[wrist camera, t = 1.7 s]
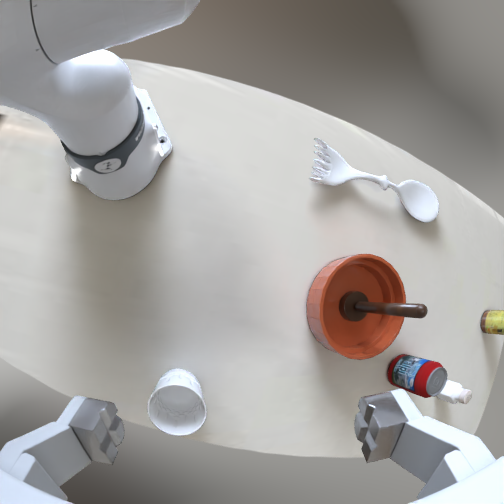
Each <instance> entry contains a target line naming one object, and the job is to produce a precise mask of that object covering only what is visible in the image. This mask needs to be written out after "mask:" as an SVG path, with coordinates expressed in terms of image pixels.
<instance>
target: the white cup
mask: <svg viewBox="0 0 504 504" xmlns="http://www.w3.org/2000/svg"><path fill="white" fill-rule="evenodd" d="M147 411H148V415H149V418H150V420H151V421H152V423H153V424H154V425H155V426H156V427H157V428H158V429H159V430H161V431H162V432H164V433H167V434H170V435H174V436H186V435H190V434H192V433H194V432H196V431H198V430H199V429H200V428H201V427H202V426H203V424H204V423H205V420H206V417H207V408H206V404H205V400H204V396H203V393H202V390H201V387H200V384H199V382H198V380H197V379H196V377H195V376H194V375H193V374H192V373H190V372H188V371H187V370H182V369H174V370H170V371H167V372H166V373H165V374H164V375H163V376H162V377H161V379H160V380H159V382H158V383H157V385H156V386H155V388H154V390H153V392H152V394H151V396H150V398H149V400H148V404H147Z"/></svg>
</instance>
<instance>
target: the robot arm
mask: <svg viewBox="0 0 504 504" xmlns="http://www.w3.org/2000/svg"><path fill="white" fill-rule="evenodd" d="M199 1H200V0H0V105H3V106H7V107H11V108H14V109H17V110H20V111H23V112H26V113H28V114H31V115H33V116H35V117H37V118H39V119H41V120H42V121H44V122H45V123H46V124H47V125H48V126H49V127H50V128H51V129H52V130H53V131H54V132H55V133H56V134H57V136H58V137H59V138H60V139H61V143H62V145H63V147H64V150H65V151H66V153H67V154H66V156H65V159H66V161H67V163H68V164H69V166H70V167H71V168H70V177H71V178H72V180H73V181H75V182H77V183H80V184H83V185H85V186H86V187H87V188H88V189H89V190H90V191H91V192H92V193H93V194H95V195H96V196H98V197H100V198H103V199H107V200H121V199H125V198H128V197H131V196H133V195H135V194H137V193H138V192H140V191H141V190H143V189H144V188H145V187H146V186H147V185H148V184H149V183H150V182H151V180H152V179H153V177H154V176H155V174H156V172H157V170H158V167H159V165H160V163H161V162H162V161H163V160H164V159H165V158H166V157H167V156H168V155H169V154H170V152H171V151H172V145H171V142H170V140H169V138H168V136H167V134H166V132H165V130H164V127H163V125H162V123H161V121H160V119H159V117H158V115H157V112H156V110H155V108H154V106H153V104H152V102H151V100H150V97H149V95H148V93H147V91H145V90H142V89H136V87H135V86H133V82H132V78H131V73H130V70H129V68H128V67H127V65H126V64H125V63H124V62H123V61H122V60H121V59H120V58H119V57H118V56H116V55H115V54H113V53H112V52H109V51H106V50H103V49H105V48H109V47H112V46H116V45H120V44H124V43H128V42H132V41H134V40H137V39H140V38H142V37H145V36H148V35H151V34H154V33H156V32H159V31H162V30H164V29H167V28H170V27H173V26H176V25H179V24H181V23H183V21H185V20H186V19H187V18H188V17H189V16H190V14H191V13H192V12H193V10H194V9H195V7H196V6H197V5H198V3H199ZM162 141H165V142H164V143H161V142H162ZM358 407H359V409H360V411H359V412H358V413H357V414H356V417H355V422H354V424H355V433H356V436H357V439H358V440H359V441H361V442H362V443H363V446H362V452H363V454H364V457H365V459H366V462H367V463H369V462H373V461H378V460H382V459H386V458H390V457H391V458H390V459H392V460H393V461H394V462H396V463H397V464H399V465H400V466H401V467H403V468H404V469H406V470H407V471H409V472H410V473H412V474H413V475H414V476H416V477H418V478H419V479H420V480H422V481H423V482H425V483H426V485H425V486H424V487H423V489H422V490H421V492H420V493H419V494H418V496H417V498H418V500H417V501H414V502H411V503H409V504H504V456H502V457H501V458H499V459H498V460H496V459H495V458H494V457H493V455H492V454H491V453H490V451H489V450H488V449H487V447H486V446H485V444H484V443H483V442H482V441H481V439H480V438H479V437H476V436H474V435H471V434H469V433H466V432H464V431H461V430H459V429H456V428H454V427H451V426H449V425H447V424H444V423H442V422H440V421H437V420H435V419H433V418H430V417H428V416H425V417H423V416H422V414H421V413H420V412H419V410H418V409H417V407H416V406H415V404H414V403H413V401H412V400H411V399H410V397H409V396H408V394H407V393H406V391H405V390H404V389H402V388H401V389H397V390H393V391H389V392H384V393H380V394H375V395H370V396H365V397H361V399H360V400H359V404H358ZM117 411H118V410H117V408H116V405H115V403H112V402H109V401H103V400H98V399H93V398H87V397H82V396H78V395H77V396H75V397H73V399H72V400H71V401H70V403H69V404H68V406H67V407H66V409H65V410H64V412H63V413H62V414H61V416H60V417H59V419H58V420H57V422H51V423H49V424H47V425H45V426H43V427H40V428H38V429H36V430H34V431H32V432H30V433H28V434H25V435H23V436H21V437H19V438H16V439H14V440H12V441H10V442H7V443H6V444H5V446H4V447H3V449H2V450H1V451H0V504H73V503H70V502H68V501H67V496H66V495H65V493H64V492H63V491H62V490H61V489H60V488H59V486H61V485H62V484H63V483H65V482H66V481H67V480H69V479H70V478H71V477H73V476H74V475H75V474H77V473H78V472H79V471H80V470H82V469H83V468H85V467H86V466H87V465H89V464H90V463H91V462H92V461H95V462H99V463H104V464H109V465H113V463H114V460H115V458H116V456H117V453H118V451H117V449H116V447H117V446H118V445H120V444H121V443H122V441H123V438H124V424H123V422H122V419H121V418H119V417H118V416H117V415H116V413H117Z"/></svg>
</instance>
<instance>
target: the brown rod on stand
mask: <svg viewBox="0 0 504 504" xmlns="http://www.w3.org/2000/svg"><path fill="white" fill-rule="evenodd" d="M339 312H340V314H341V316H342V317H343V318H344V319H346V320H349V321H354V322H357V321H360V320H362V319H364V318H365V316H366V315H367V313H372V314H381V315H391V316H401V317H411V318H423V317H425V316H426V314H427V307H426V306H425V305H424V304H407V303H382V302H369V301H368V298H367V296H366V295H365V294H364V293H362V292H359V291H350V292H347V293H345V294H344V295H343V296H342V298H341V300H340V302H339Z"/></svg>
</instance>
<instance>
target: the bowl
mask: <svg viewBox="0 0 504 504" xmlns="http://www.w3.org/2000/svg"><path fill="white" fill-rule="evenodd" d="M350 291H359V292H362V293H364V294H365V295H366V296H367V298H368V301H369V302H382V303H406V295H405V291H404V286H403V283H402V281H401V279H400V277H399V274H398V273H397V271H396V270H395V269H394V268H393V267H392V265H391V264H390V263H388V262H387V261H385V260H384V259H383V258H381V257H378V256H375V255H372V254H358V255H353V256H349V257H344V258H341V259H338V260H335V261H333V262H331V263H330V264H328V265H327V266H326V267H324V268H323V269H322V270H321V272H320V273H319V274H318V275H317V276H316V278H315V280H314V282H313V284H312V286H311V288H310V290H309V295H308V300H307V318H308V322H309V326H310V329H311V331H312V333H313V334H314V336H315V338H316V339H317V341H318V342H319V343H321V344H322V345H323V346H324V347H325V348H326V349H328V350H331V351H333V352H335V353H337V354H340V355H342V356H345V357H347V358H350V359H358V360H362V359H367V358H372V357H374V356H376V355H378V354H380V353H382V352H383V351H384V350H385V349H386V348H387V347H389V346H390V345H391V344H392V342H393V341H394V340H395V338H396V337H397V335H398V334H399V331H400V329H401V326H402V324H403V321H404V317H401V316H391V315H381V314H372V313H367V315H366V316H365V318H364V319H362V320H360V321H357V322H354V321H349V320H346V319H344V318H343V317H342V316H341V314H340V312H339V302H340V300H341V298H342V296H343V295H344V294H345V293H347V292H350Z"/></svg>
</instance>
